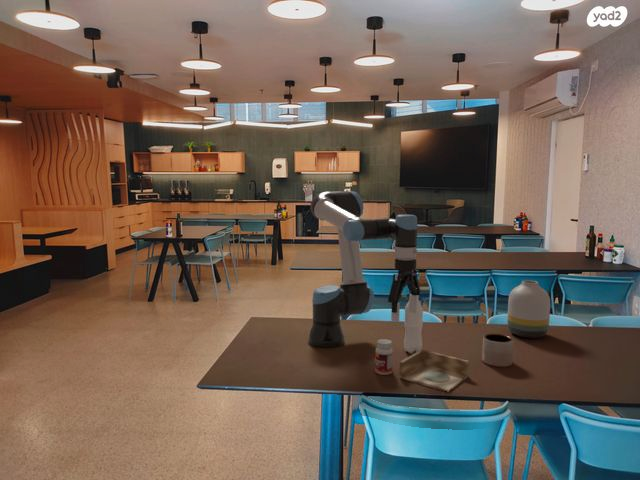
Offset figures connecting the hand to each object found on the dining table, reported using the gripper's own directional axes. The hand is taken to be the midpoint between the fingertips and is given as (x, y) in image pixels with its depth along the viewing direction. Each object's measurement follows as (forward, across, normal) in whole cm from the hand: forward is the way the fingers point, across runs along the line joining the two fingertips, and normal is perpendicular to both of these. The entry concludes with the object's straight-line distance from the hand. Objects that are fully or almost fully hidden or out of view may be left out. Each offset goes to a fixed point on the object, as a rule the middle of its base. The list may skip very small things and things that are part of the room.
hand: (404, 316), depth 170 cm
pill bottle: (+20, -7, +4) cm, 21 cm away
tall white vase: (+20, +18, +5) cm, 27 cm away
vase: (+20, +67, -26) cm, 75 cm away
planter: (+20, +26, -26) cm, 42 cm away
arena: (+19, -1, -12) cm, 23 cm away
